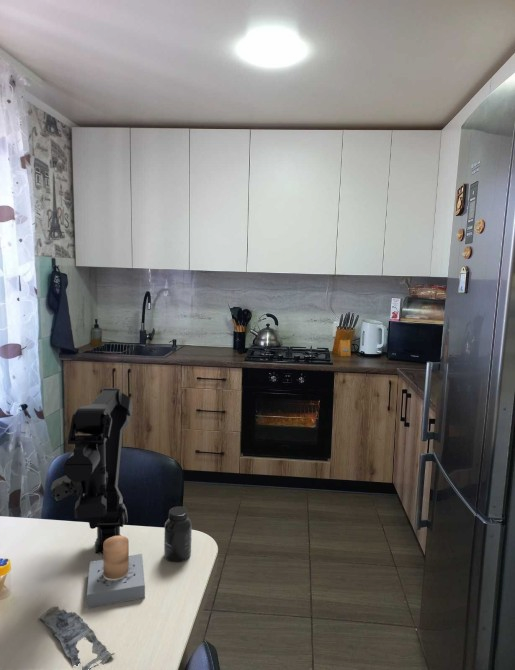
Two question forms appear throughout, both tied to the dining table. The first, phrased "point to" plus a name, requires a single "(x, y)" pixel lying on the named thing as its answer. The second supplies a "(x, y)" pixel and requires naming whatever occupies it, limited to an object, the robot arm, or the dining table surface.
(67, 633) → the driftwood
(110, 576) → the peg
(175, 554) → the supplement bottle
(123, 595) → the board
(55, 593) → the dining table surface
